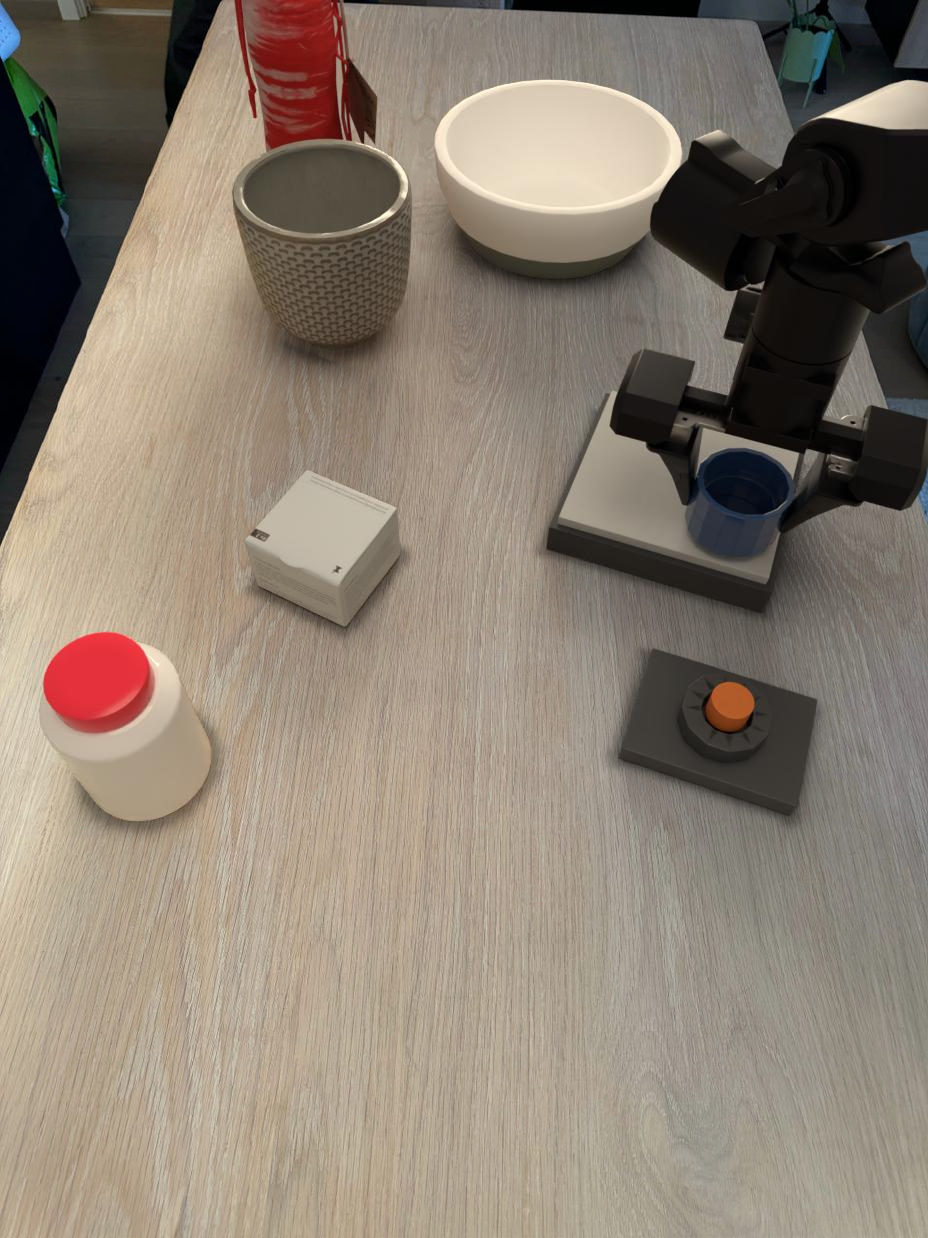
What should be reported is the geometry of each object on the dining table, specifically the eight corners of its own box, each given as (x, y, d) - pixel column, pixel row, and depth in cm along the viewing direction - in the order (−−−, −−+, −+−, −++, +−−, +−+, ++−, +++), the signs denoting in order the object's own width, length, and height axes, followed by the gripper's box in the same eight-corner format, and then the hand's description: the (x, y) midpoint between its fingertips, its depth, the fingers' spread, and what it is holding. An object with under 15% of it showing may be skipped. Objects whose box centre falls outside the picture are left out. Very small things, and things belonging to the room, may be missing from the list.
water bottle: (394, 193, 95) (379, -105, 74) (382, 240, 91) (363, -62, 70) (276, 184, 96) (229, -113, 75) (259, 231, 91) (203, -72, 70)
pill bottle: (85, 832, 57) (16, 751, 48) (87, 721, 61) (24, 626, 52) (215, 808, 58) (171, 724, 49) (208, 700, 62) (166, 604, 53)
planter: (393, 388, 79) (385, 251, 68) (235, 362, 81) (203, 224, 70) (432, 287, 87) (430, 149, 76) (287, 265, 88) (265, 127, 78)
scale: (797, 467, 75) (810, 437, 72) (761, 613, 67) (775, 585, 64) (601, 415, 78) (607, 384, 75) (545, 548, 70) (549, 519, 67)
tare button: (750, 703, 60) (758, 689, 58) (742, 737, 58) (750, 724, 57) (710, 690, 60) (716, 676, 59) (701, 724, 59) (707, 710, 57)
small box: (403, 553, 69) (401, 507, 65) (345, 631, 65) (338, 587, 61) (315, 513, 71) (306, 465, 67) (253, 586, 67) (240, 541, 63)
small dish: (782, 506, 68) (802, 462, 64) (766, 572, 64) (785, 530, 61) (695, 482, 69) (708, 437, 65) (674, 546, 66) (687, 502, 62)
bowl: (605, 328, 84) (619, 244, 77) (390, 249, 90) (385, 164, 83) (700, 202, 95) (720, 118, 88) (503, 139, 101) (507, 56, 94)
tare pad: (811, 709, 62) (826, 686, 60) (790, 816, 58) (805, 796, 56) (649, 658, 64) (657, 634, 62) (617, 758, 60) (625, 736, 58)
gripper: (986, 285, 55) (885, 470, 68) (673, 216, 59) (633, 404, 72) (973, 409, 49) (865, 587, 62) (626, 324, 53) (592, 508, 66)
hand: (734, 514), depth 66 cm, fingers closed on small dish, 6 cm apart
